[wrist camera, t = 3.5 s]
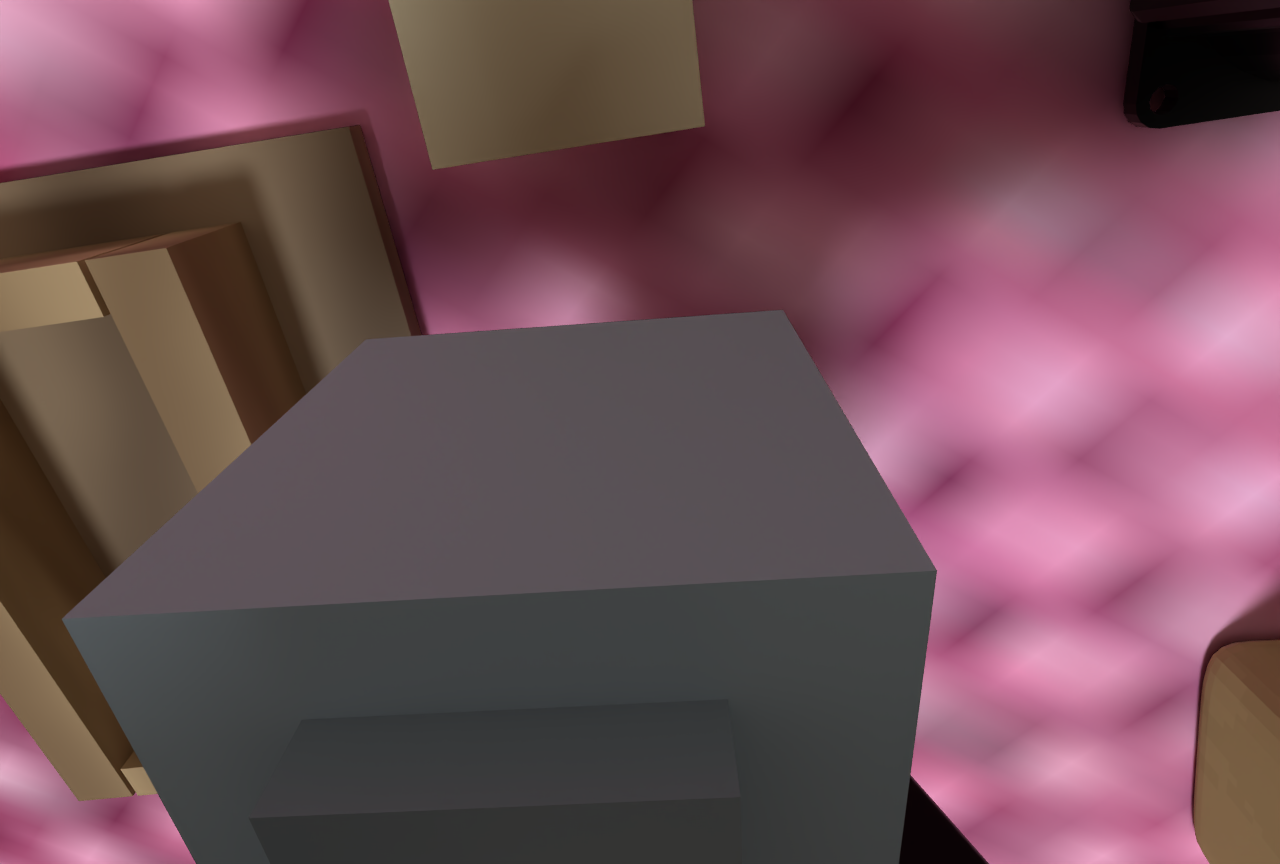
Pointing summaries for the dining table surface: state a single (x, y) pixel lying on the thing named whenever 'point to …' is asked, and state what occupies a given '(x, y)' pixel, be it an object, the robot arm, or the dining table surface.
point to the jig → (159, 376)
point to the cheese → (1239, 756)
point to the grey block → (533, 613)
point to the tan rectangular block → (546, 73)
